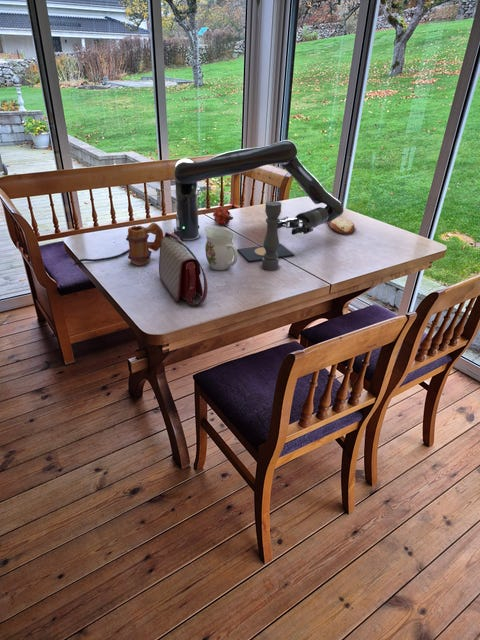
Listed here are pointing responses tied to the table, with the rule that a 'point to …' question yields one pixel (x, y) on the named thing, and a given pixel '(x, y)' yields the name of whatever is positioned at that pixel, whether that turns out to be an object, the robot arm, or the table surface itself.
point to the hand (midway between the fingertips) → (283, 229)
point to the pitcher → (220, 248)
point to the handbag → (180, 270)
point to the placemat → (262, 253)
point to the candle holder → (271, 236)
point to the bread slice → (342, 225)
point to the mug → (143, 242)
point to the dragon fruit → (222, 215)
